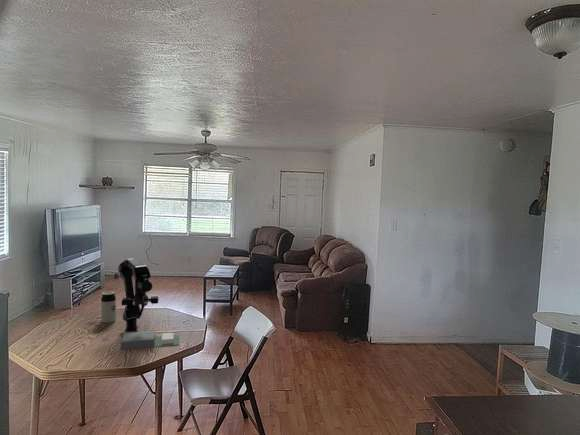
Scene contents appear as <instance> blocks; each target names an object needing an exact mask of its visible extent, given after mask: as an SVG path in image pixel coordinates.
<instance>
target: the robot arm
mask: <svg viewBox="0 0 580 435" xmlns="http://www.w3.org/2000/svg"><path fill="white" fill-rule="evenodd" d="M117 271H118V273H119V277H121V279H122V280H123V285H124V292H125V297H123V298H122V300H121V306H125V307H124V312H123V314H122V319H123V321H124V322H125V323H126V324H125V326H126V327H125V330H124V332H133V331H134V332H135V331H137V330H138V328H139V326H138V323H137V322H138V321H137V320H138V319H139V320H140V319H141V317H142V314H143V312H144V309H145V306H146V307H147V306H148V303H149V302H150V303H151V304H153V305H154V304H155V305H156V304H159V296H157V295H153V296H150V297H149V295H148V294H147V293H148V292H150V291H151V290H152V288H153V284H152V282H151V281H150V280H149V279H151V272H150V270H149V267H148V266H147V265H146V264H142V263H141V264H140V263H139V262H138V261H136V260H135V258H133V257H132V258H131V257H130V258H125V259H124V260H123V261H122V262H120V263H119V265H118V268H117ZM133 278H134V284H133Z"/></svg>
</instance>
